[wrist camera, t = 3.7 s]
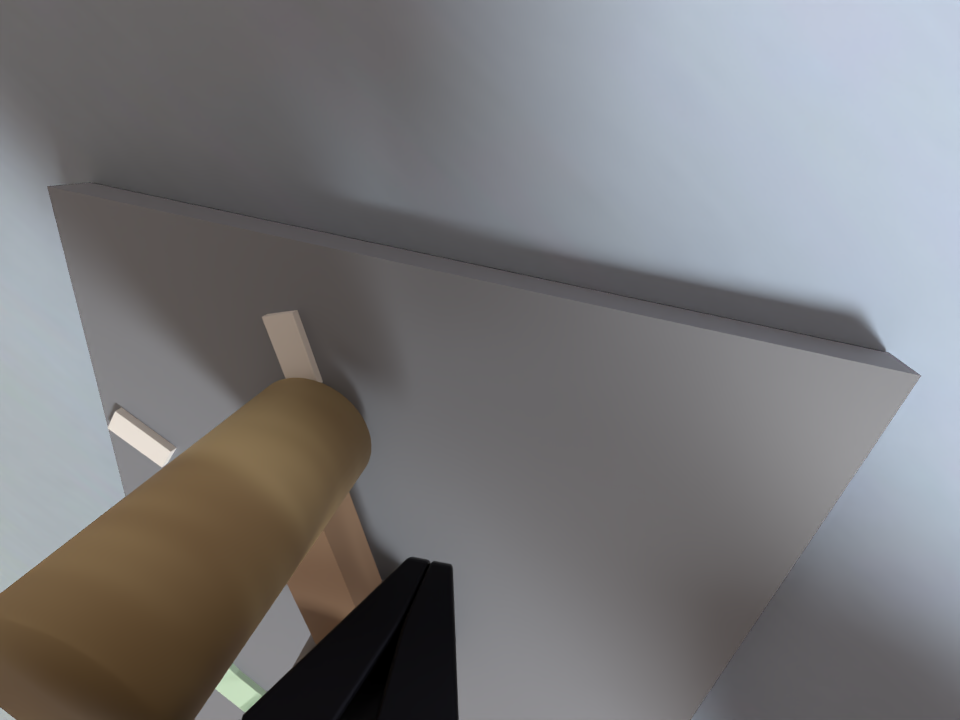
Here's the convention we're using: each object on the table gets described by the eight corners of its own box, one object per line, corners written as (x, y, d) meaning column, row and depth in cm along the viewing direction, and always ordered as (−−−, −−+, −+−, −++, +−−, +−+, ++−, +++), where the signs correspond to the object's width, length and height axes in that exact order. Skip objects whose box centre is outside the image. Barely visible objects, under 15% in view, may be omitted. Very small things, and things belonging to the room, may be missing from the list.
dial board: (889, 352, 9) (928, 380, 8) (593, 830, 19) (593, 871, 18) (60, 176, 11) (6, 180, 10) (181, 687, 21) (160, 715, 20)
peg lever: (468, 676, 14) (392, 1011, 9) (351, 664, 15) (219, 957, 10) (374, 366, 10) (125, 629, 5) (224, 380, 11) (-118, 608, 6)
